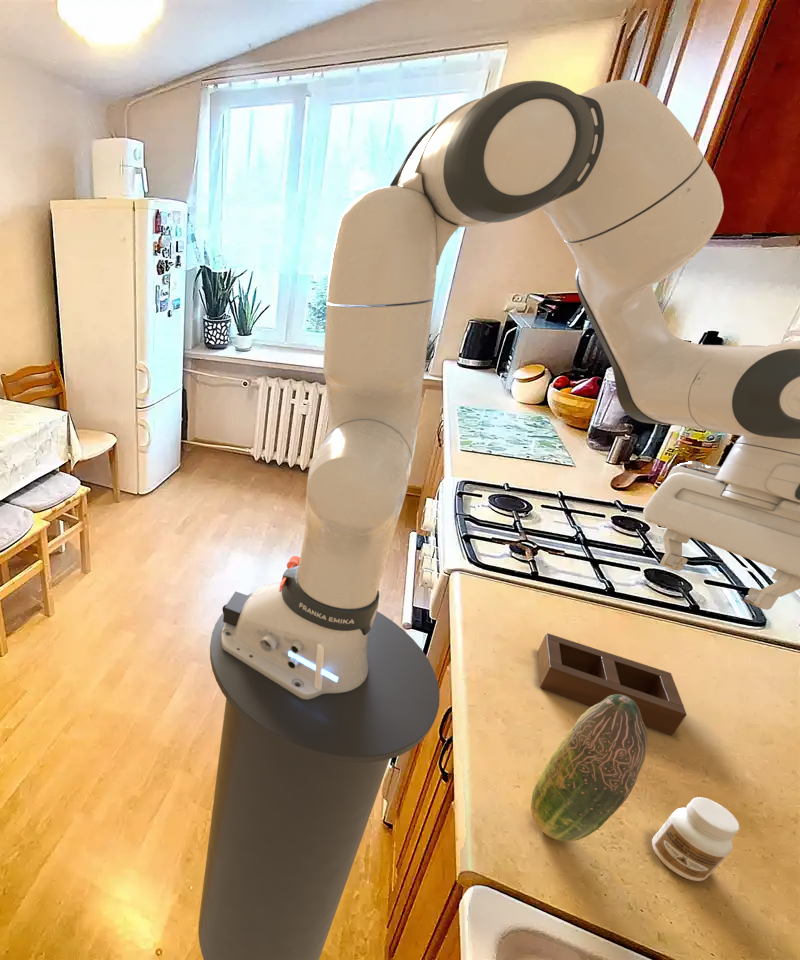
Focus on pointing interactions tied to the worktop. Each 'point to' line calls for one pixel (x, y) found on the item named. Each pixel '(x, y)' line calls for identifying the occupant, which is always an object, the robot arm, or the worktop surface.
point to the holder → (609, 681)
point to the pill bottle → (696, 838)
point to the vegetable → (591, 770)
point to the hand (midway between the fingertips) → (709, 585)
